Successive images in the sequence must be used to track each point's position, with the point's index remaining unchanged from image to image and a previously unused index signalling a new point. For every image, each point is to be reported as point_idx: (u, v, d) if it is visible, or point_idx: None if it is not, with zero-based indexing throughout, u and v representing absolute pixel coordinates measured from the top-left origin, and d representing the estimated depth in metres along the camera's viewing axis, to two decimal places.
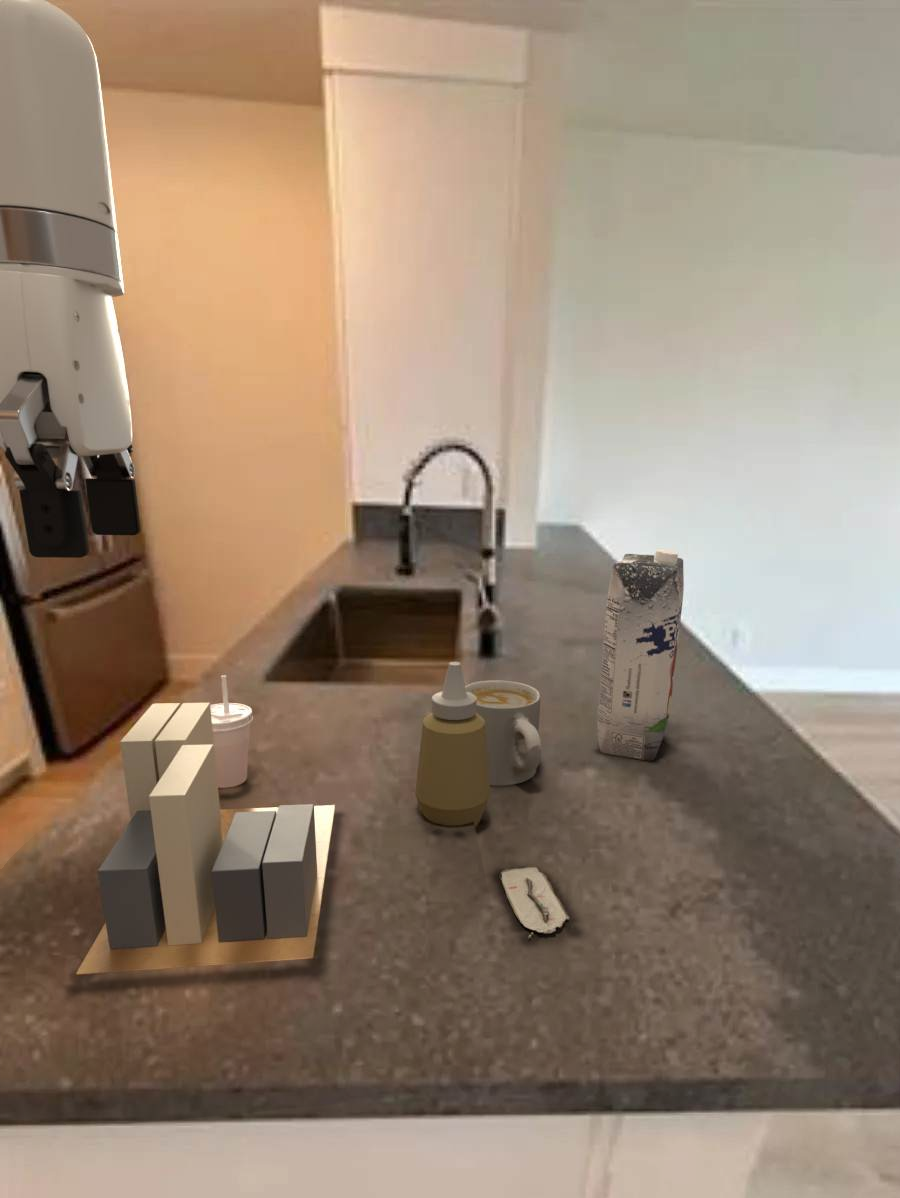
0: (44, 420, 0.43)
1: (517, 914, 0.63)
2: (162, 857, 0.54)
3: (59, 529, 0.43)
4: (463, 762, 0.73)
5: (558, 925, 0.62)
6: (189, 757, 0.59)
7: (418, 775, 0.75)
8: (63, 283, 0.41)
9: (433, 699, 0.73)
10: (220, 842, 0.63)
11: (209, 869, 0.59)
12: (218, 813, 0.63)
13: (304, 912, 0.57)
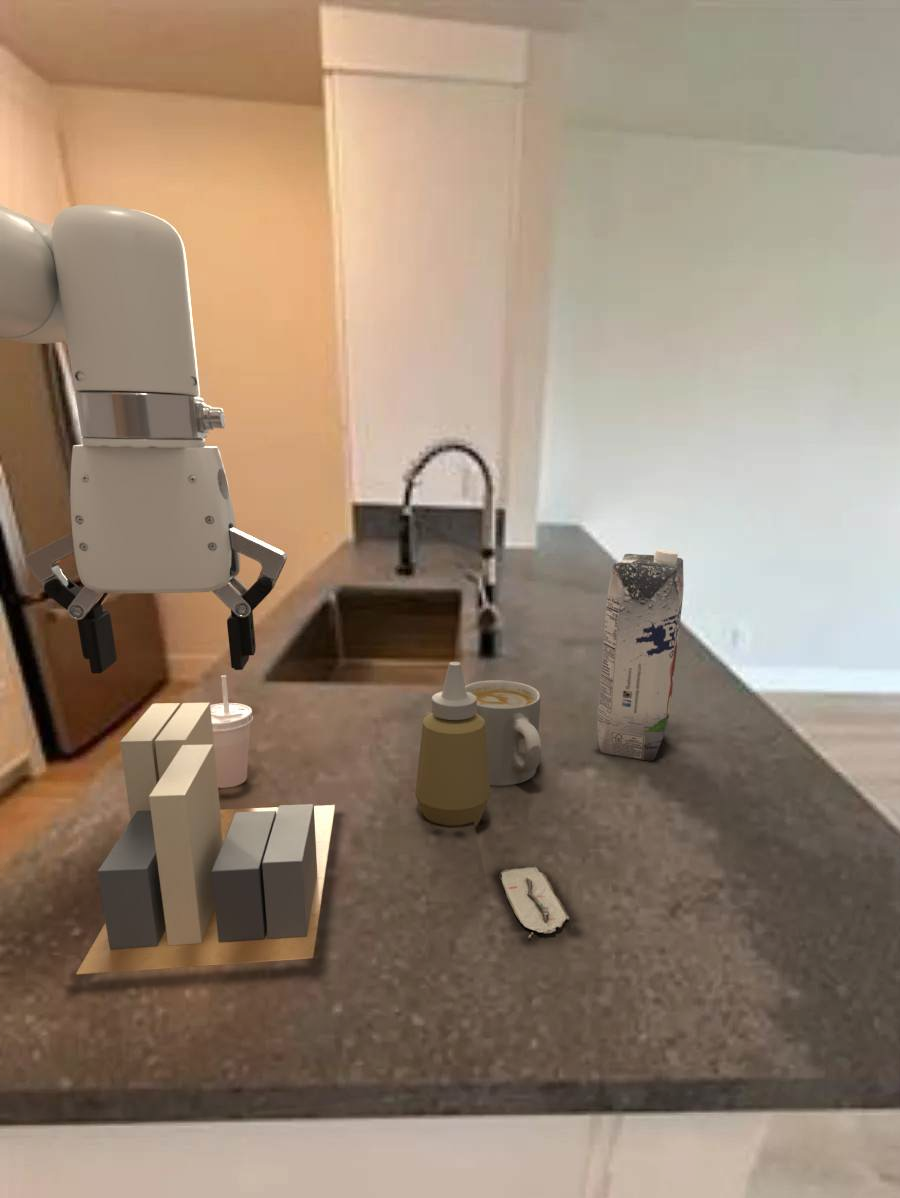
0: None
1: (517, 914, 0.63)
2: (162, 857, 0.54)
3: None
4: (463, 762, 0.73)
5: (558, 925, 0.62)
6: (189, 757, 0.59)
7: (418, 775, 0.75)
8: (74, 451, 0.47)
9: (433, 699, 0.73)
10: (220, 842, 0.63)
11: (209, 869, 0.59)
12: (218, 813, 0.63)
13: (304, 912, 0.57)
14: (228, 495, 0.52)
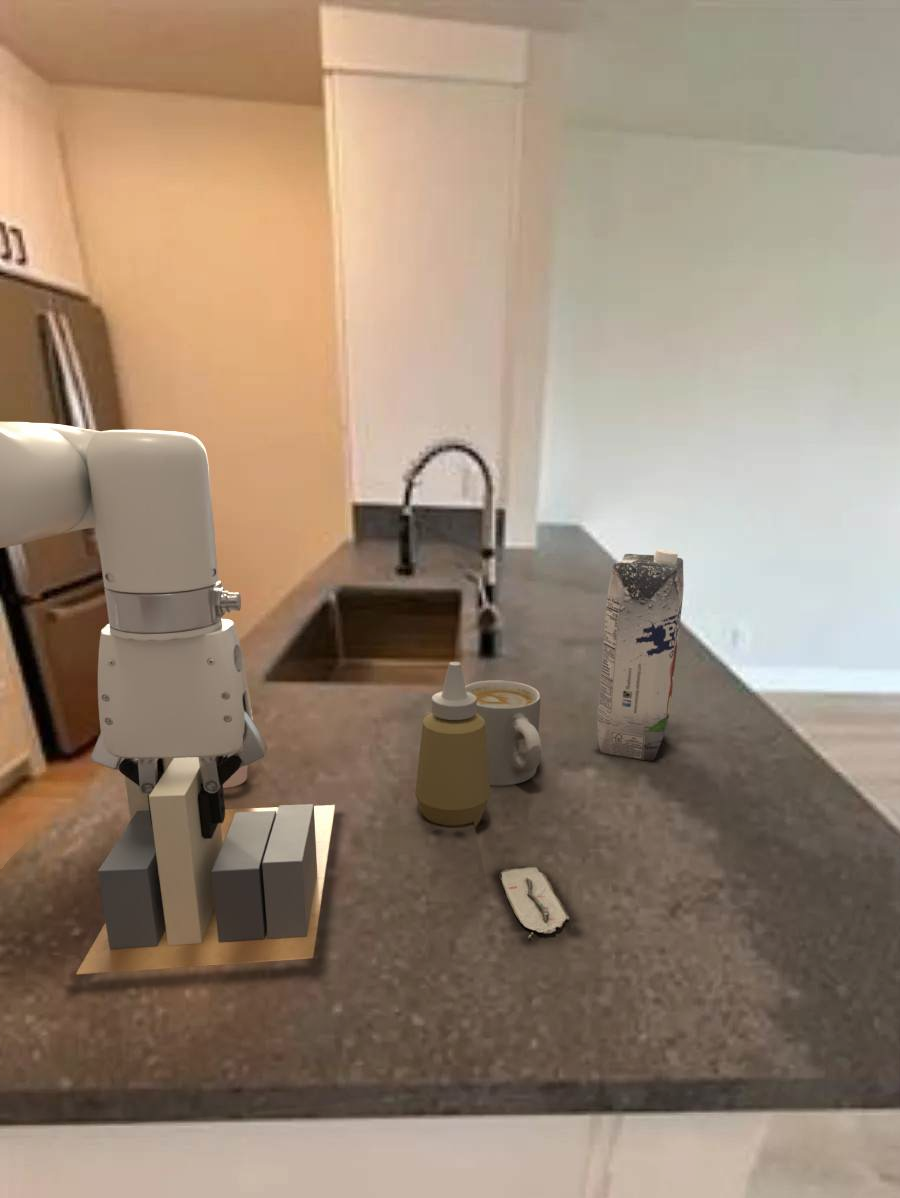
0: None
1: (517, 914, 0.63)
2: (162, 857, 0.54)
3: None
4: (463, 762, 0.73)
5: (558, 925, 0.62)
6: (189, 757, 0.59)
7: (418, 775, 0.75)
8: (103, 639, 0.51)
9: (433, 699, 0.73)
10: (220, 842, 0.63)
11: (209, 869, 0.59)
12: None
13: (304, 912, 0.57)
14: (242, 665, 0.56)
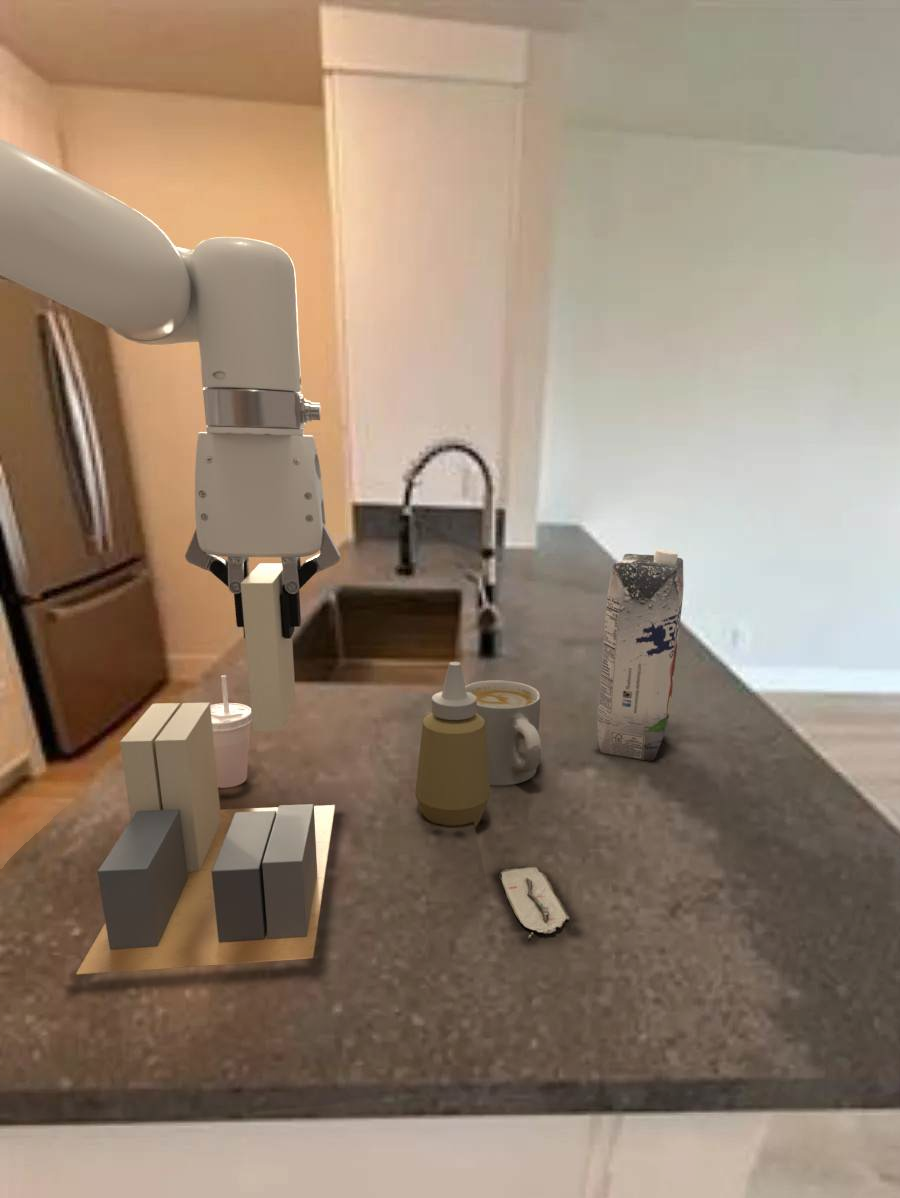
0: None
1: (517, 914, 0.63)
2: (250, 644, 0.60)
3: (236, 616, 0.63)
4: (463, 762, 0.73)
5: (558, 925, 0.62)
6: (269, 568, 0.64)
7: (418, 775, 0.75)
8: (201, 437, 0.57)
9: (433, 699, 0.73)
10: (292, 658, 0.69)
11: (286, 672, 0.65)
12: None
13: (304, 912, 0.57)
14: (320, 476, 0.62)
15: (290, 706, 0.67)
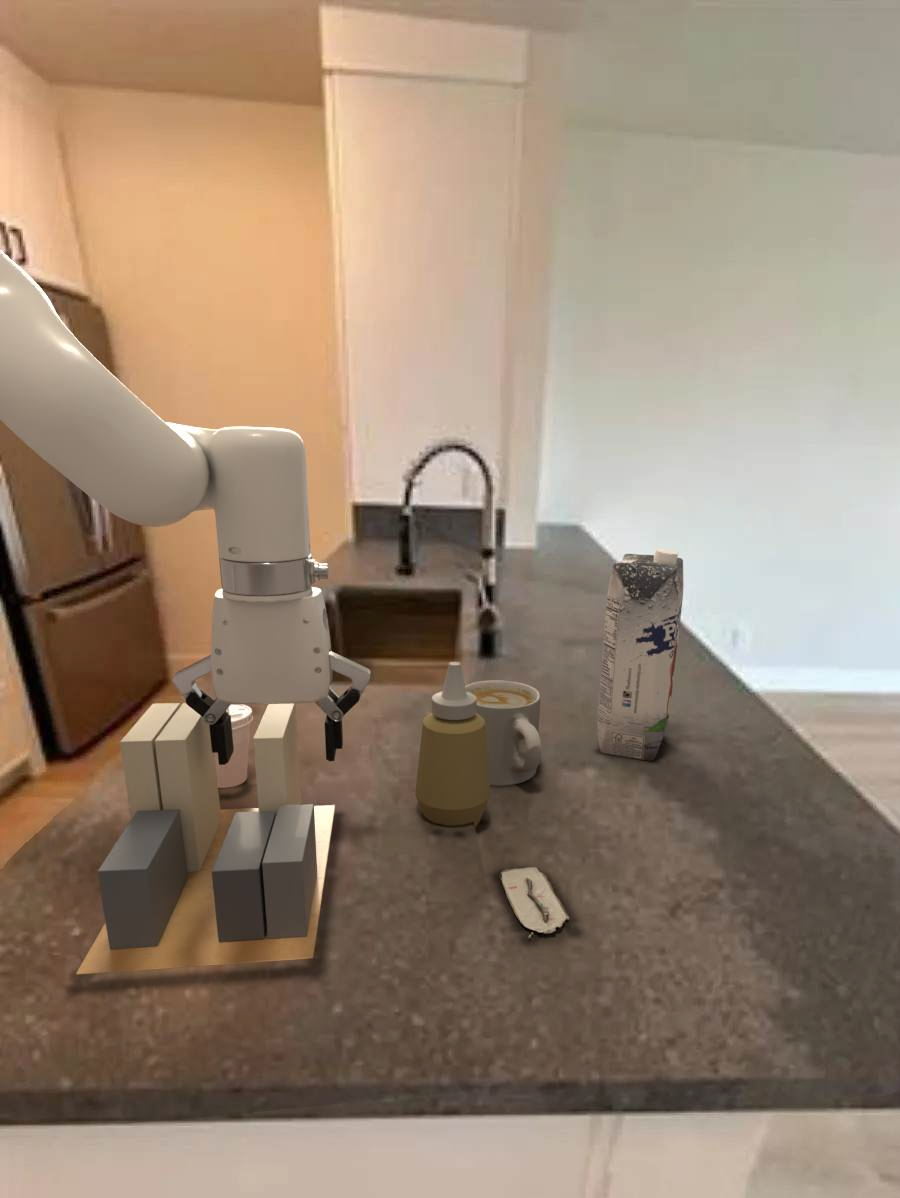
0: None
1: (517, 914, 0.63)
2: (261, 791, 0.64)
3: None
4: (463, 762, 0.73)
5: (558, 925, 0.62)
6: (278, 710, 0.69)
7: (418, 775, 0.75)
8: (217, 602, 0.61)
9: (433, 699, 0.73)
10: (299, 786, 0.73)
11: None
12: (298, 761, 0.73)
13: (304, 912, 0.57)
14: (328, 626, 0.66)
15: None
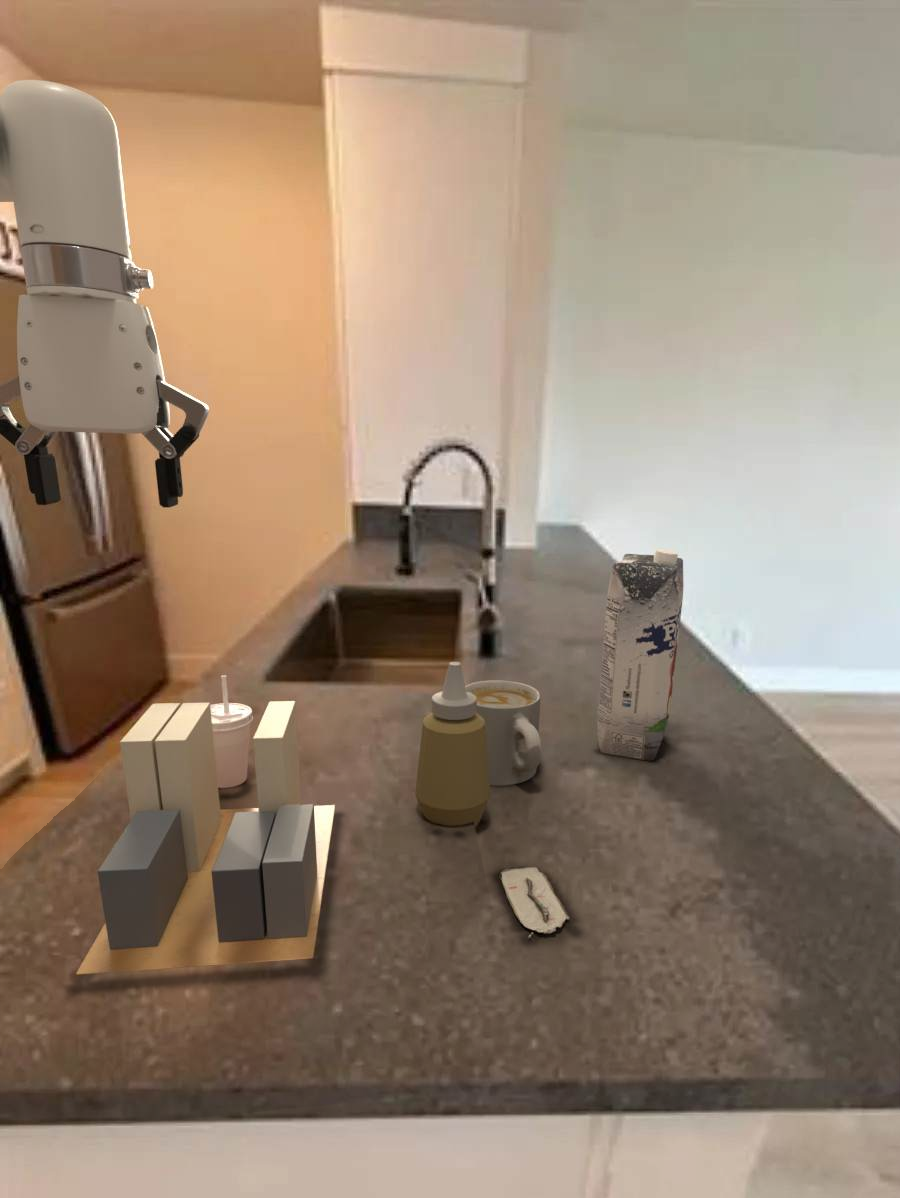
0: None
1: (517, 914, 0.63)
2: (261, 791, 0.64)
3: None
4: (463, 762, 0.73)
5: (558, 925, 0.62)
6: (278, 710, 0.69)
7: (418, 775, 0.75)
8: (20, 300, 0.55)
9: (433, 699, 0.73)
10: (299, 786, 0.73)
11: None
12: (298, 761, 0.73)
13: (304, 912, 0.57)
14: (157, 351, 0.60)
15: None
